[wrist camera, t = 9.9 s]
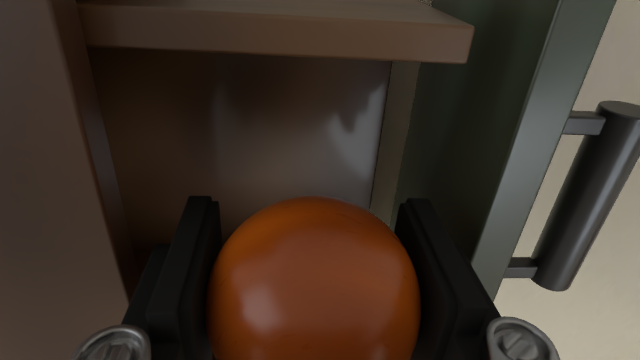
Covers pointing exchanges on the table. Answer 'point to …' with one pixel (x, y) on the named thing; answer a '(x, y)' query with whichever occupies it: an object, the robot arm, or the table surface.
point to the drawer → (362, 115)
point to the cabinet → (55, 190)
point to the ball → (313, 286)
